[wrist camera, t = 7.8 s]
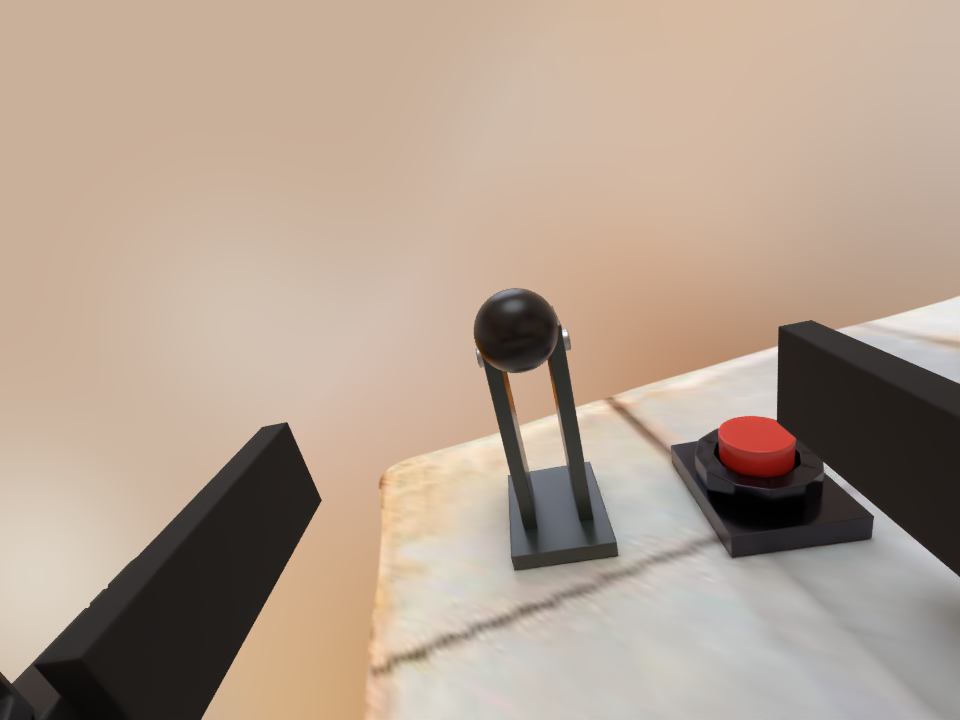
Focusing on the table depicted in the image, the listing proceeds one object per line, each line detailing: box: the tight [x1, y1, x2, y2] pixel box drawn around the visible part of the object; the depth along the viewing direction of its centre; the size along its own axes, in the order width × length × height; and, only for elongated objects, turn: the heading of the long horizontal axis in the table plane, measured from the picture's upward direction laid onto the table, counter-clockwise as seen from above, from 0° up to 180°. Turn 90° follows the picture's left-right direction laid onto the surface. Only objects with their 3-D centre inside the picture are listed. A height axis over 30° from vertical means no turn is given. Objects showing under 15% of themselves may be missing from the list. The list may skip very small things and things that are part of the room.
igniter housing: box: [671, 428, 874, 557], centre depth 31 cm, size 10×8×4 cm
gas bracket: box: [476, 306, 618, 570], centre depth 31 cm, size 9×7×16 cm
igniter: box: [718, 416, 796, 477], centre depth 30 cm, size 4×4×2 cm
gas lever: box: [474, 288, 558, 373], centre depth 24 cm, size 13×4×4 cm, turn 177°
